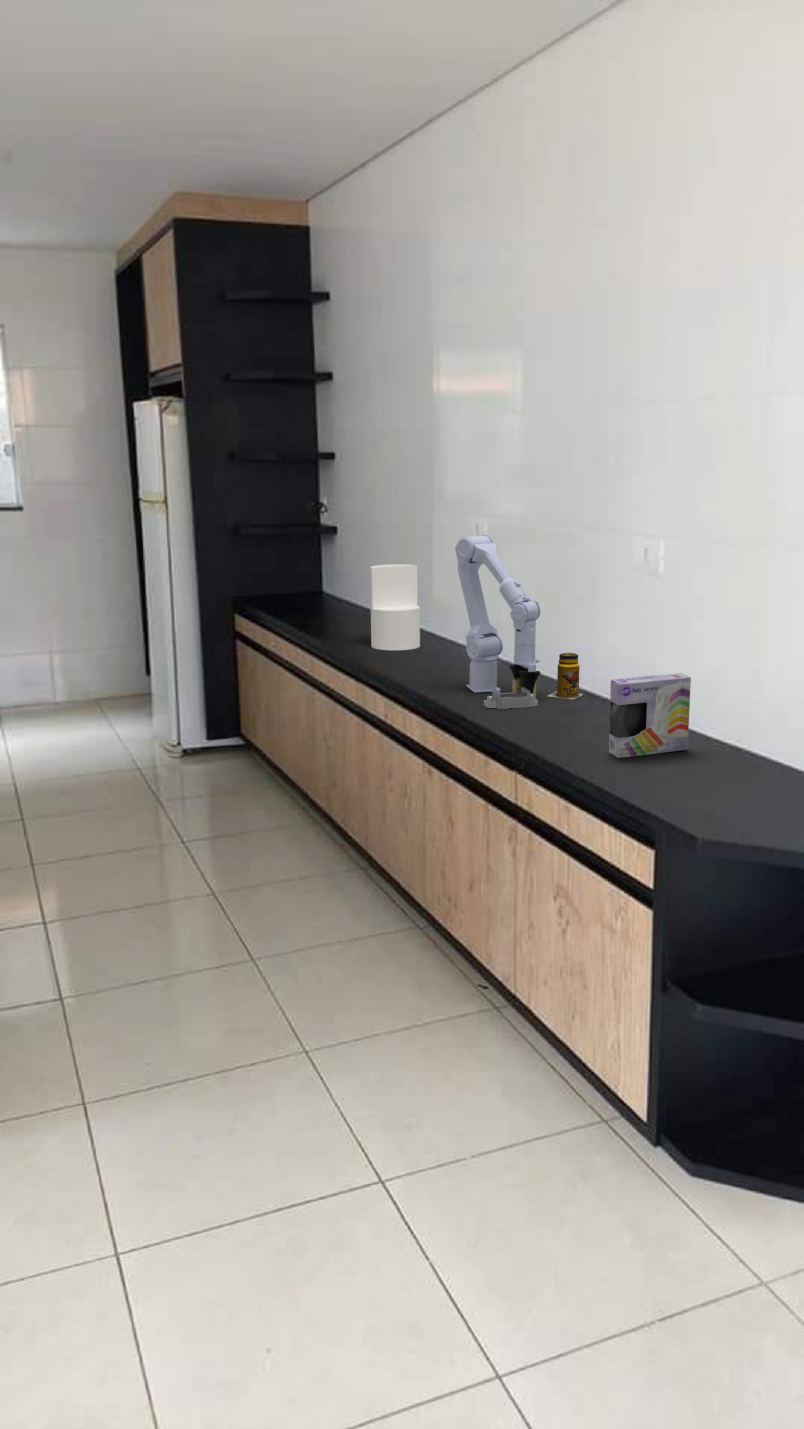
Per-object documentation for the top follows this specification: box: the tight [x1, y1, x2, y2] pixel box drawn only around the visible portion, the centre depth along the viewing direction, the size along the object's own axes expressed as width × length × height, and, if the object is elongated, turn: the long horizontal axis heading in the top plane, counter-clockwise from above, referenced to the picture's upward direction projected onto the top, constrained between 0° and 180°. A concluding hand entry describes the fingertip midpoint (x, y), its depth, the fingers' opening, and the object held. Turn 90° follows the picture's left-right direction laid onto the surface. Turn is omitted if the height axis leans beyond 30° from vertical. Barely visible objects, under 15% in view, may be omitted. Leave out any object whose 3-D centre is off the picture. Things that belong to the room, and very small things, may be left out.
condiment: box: [547, 652, 584, 700], centre depth 316 cm, size 7×8×12 cm
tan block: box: [511, 677, 537, 699], centre depth 314 cm, size 3×6×6 cm, turn 101°
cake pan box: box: [608, 672, 692, 759], centre depth 256 cm, size 19×5×18 cm, turn 106°
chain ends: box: [483, 687, 539, 710], centre depth 305 cm, size 6×14×4 cm, turn 101°
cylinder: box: [369, 563, 421, 651], centre depth 396 cm, size 17×17×28 cm
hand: (524, 692), depth 315 cm, fingers open, 7 cm apart
